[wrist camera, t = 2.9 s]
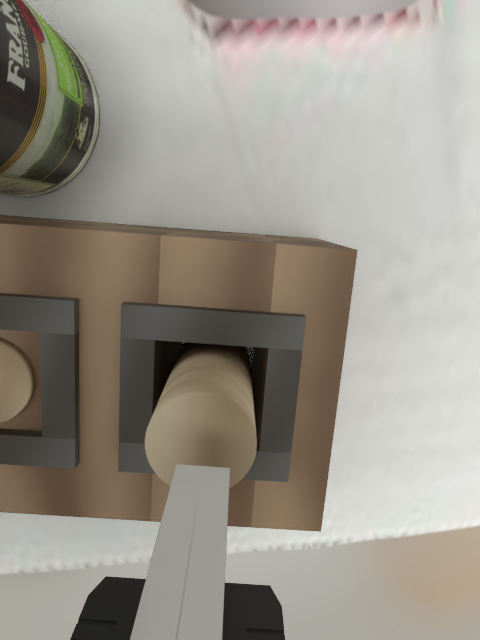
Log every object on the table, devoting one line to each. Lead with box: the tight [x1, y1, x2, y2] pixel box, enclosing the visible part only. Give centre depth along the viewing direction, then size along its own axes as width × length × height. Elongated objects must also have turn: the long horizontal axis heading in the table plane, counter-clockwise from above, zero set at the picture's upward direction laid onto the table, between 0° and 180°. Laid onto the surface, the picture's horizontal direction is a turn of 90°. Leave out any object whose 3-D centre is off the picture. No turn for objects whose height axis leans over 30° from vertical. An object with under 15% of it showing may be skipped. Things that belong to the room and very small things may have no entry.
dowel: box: [145, 342, 257, 488], centre depth 21 cm, size 4×4×9 cm
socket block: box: [0, 215, 357, 531], centre depth 26 cm, size 22×14×11 cm, turn 86°
